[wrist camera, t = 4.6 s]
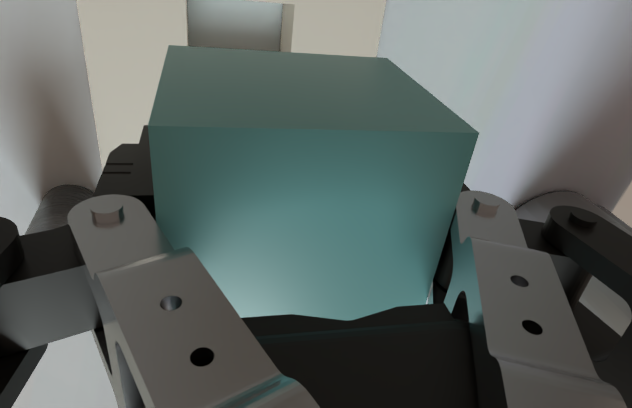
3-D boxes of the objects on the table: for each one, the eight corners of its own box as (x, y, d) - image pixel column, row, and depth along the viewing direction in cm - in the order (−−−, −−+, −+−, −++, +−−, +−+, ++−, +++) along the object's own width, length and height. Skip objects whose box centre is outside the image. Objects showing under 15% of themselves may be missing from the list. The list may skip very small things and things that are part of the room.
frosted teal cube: (387, 57, 12) (478, 132, 8) (355, 229, 15) (411, 347, 11) (168, 45, 11) (148, 125, 7) (179, 234, 14) (169, 370, 10)
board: (379, -98, 21) (403, -97, 19) (340, 154, 28) (354, 178, 26) (72, -142, 18) (53, -148, 16) (112, 154, 25) (104, 181, 23)
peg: (99, 184, 26) (67, 280, 19) (107, 230, 28) (80, 333, 21) (36, 185, 25) (-20, 285, 19) (47, 232, 27) (0, 340, 20)
